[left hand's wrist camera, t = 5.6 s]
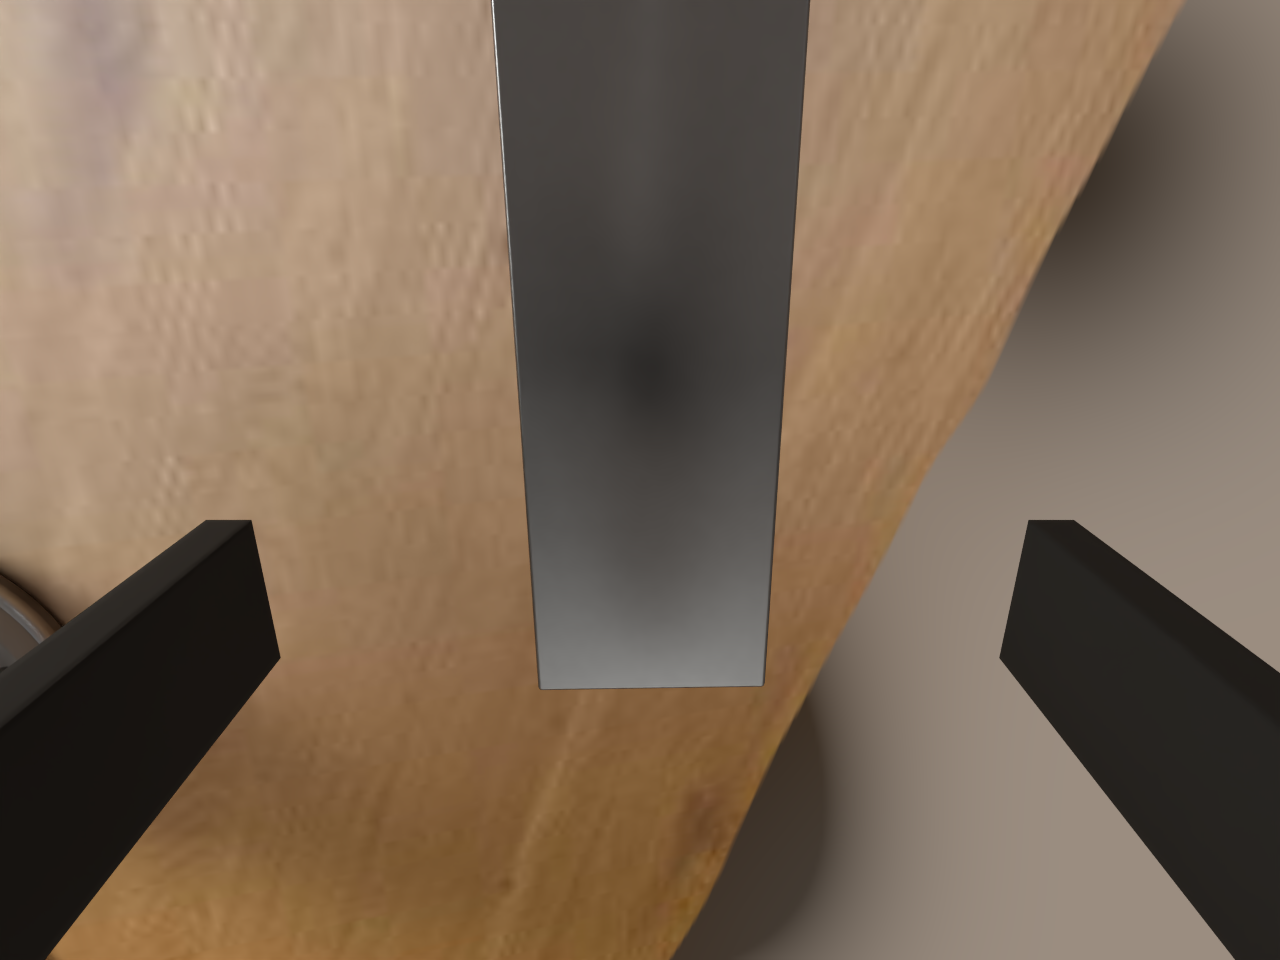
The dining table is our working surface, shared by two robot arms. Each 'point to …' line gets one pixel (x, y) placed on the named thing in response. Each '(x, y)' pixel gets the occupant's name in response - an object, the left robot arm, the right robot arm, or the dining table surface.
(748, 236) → the bar
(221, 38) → the dining table surface
